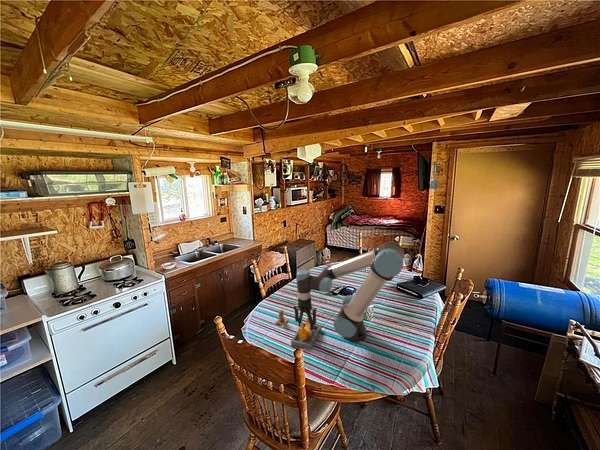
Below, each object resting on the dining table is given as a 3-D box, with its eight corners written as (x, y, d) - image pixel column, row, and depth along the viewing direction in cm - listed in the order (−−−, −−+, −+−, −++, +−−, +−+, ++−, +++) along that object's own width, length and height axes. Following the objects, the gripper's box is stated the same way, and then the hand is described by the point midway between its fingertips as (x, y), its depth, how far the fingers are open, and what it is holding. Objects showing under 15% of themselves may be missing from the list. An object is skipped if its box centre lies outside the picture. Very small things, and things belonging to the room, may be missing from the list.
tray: (321, 330, 150) (321, 325, 149) (311, 350, 134) (311, 345, 133) (303, 326, 154) (302, 322, 154) (291, 345, 138) (290, 340, 138)
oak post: (287, 320, 162) (287, 309, 160) (283, 325, 156) (283, 314, 155) (279, 318, 164) (278, 308, 162) (275, 324, 159) (274, 313, 157)
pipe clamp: (305, 340, 138) (304, 330, 137) (298, 338, 140) (298, 328, 139) (315, 328, 148) (314, 318, 147) (308, 326, 150) (308, 316, 149)
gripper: (321, 296, 138) (322, 332, 143) (292, 291, 145) (295, 326, 150) (317, 303, 132) (318, 340, 137) (287, 298, 138) (290, 334, 144)
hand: (306, 333), depth 143 cm, fingers closed on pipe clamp, 5 cm apart
